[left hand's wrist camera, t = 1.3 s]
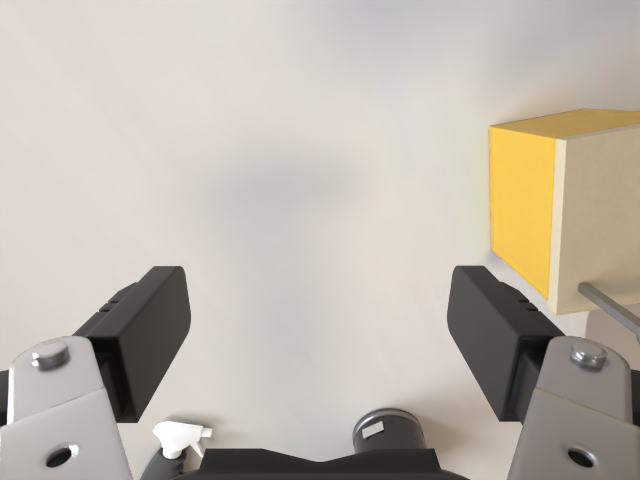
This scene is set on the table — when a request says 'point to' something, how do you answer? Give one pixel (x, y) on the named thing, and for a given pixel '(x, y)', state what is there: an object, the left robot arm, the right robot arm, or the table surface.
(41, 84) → the table surface
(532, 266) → the yellow hollow box
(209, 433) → the spray bottle
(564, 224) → the lid
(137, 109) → the table surface
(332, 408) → the table surface
